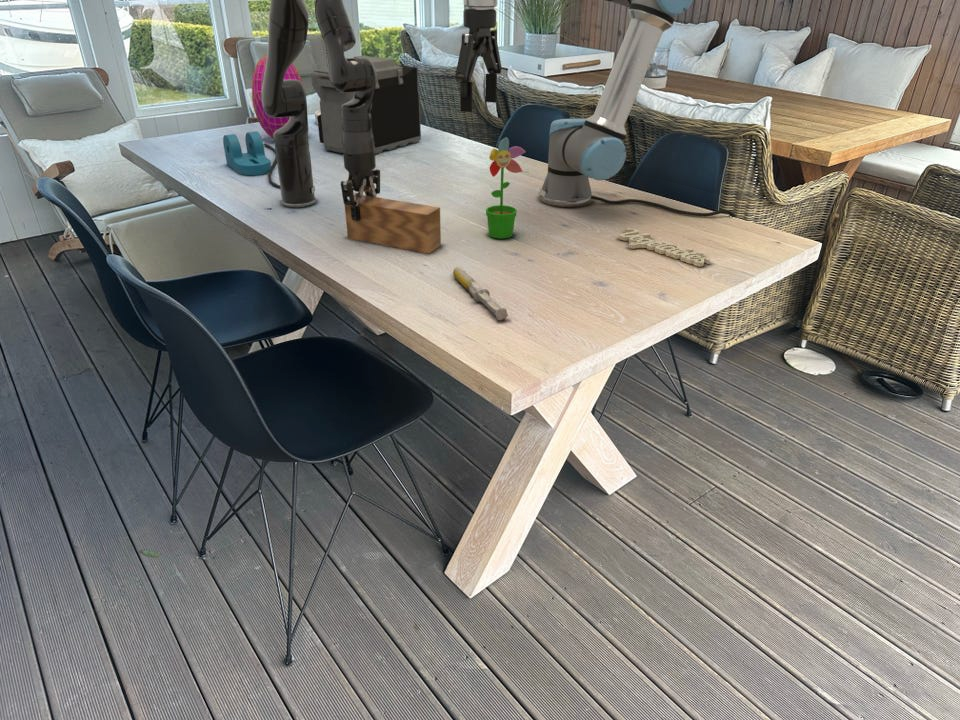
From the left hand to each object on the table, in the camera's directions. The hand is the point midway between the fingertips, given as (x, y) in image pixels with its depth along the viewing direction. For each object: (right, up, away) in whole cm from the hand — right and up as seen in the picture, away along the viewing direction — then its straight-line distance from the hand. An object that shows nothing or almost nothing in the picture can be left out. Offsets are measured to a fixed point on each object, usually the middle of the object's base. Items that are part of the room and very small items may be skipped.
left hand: (363, 216), depth 173 cm
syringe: (+29, -23, -28) cm, 46 cm away
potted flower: (+35, -4, +4) cm, 35 cm away
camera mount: (-47, +28, +56) cm, 79 cm away
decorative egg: (-46, +49, +92) cm, 114 cm away
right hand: (+29, +25, -7) cm, 39 cm away
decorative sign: (+74, -9, -3) cm, 74 cm away
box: (+8, -7, 0) cm, 10 cm away
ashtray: (-29, +66, +121) cm, 141 cm away
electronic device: (-12, +44, +85) cm, 97 cm away
